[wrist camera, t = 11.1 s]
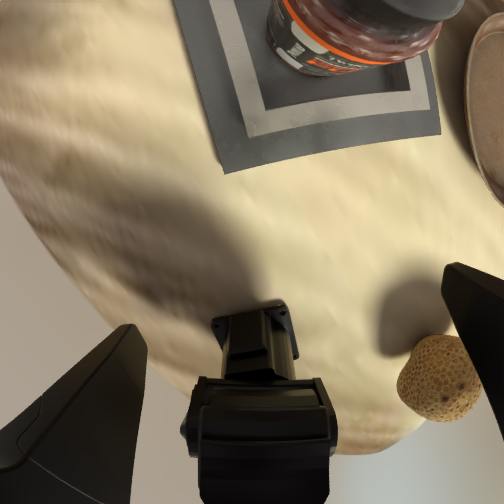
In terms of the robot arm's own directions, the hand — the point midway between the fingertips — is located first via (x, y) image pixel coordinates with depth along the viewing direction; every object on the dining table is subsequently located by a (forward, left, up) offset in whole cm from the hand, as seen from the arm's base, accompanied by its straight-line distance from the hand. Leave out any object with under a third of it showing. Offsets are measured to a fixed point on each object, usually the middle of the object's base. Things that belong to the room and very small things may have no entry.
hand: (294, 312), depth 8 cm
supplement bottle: (+9, -5, -12) cm, 16 cm away
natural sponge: (-20, -13, -13) cm, 27 cm away
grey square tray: (+9, -5, -13) cm, 16 cm away
